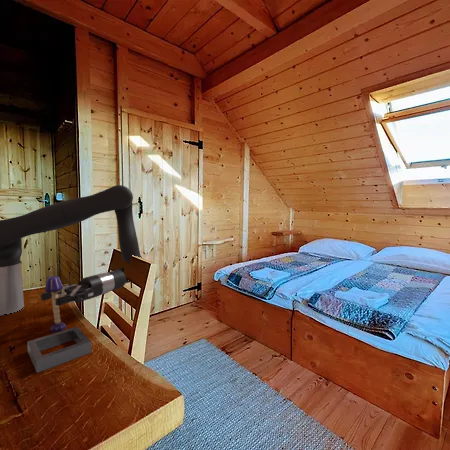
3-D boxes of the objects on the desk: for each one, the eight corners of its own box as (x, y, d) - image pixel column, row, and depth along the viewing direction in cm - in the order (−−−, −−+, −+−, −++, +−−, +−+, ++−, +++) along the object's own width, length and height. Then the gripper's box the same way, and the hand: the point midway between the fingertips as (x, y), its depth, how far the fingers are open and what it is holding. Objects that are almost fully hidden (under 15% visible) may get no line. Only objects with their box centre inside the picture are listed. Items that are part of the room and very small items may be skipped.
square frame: (36, 373, 63) (36, 360, 62) (28, 352, 71) (27, 341, 71) (91, 352, 71) (90, 341, 71) (77, 336, 80) (77, 326, 79)
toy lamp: (47, 334, 81) (43, 280, 80) (49, 327, 85) (45, 276, 84) (65, 330, 83) (62, 277, 82) (66, 324, 87) (63, 274, 86)
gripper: (85, 272, 99) (35, 284, 85) (109, 277, 92) (60, 291, 78) (86, 292, 100) (37, 307, 86) (110, 299, 92) (62, 316, 78)
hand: (48, 299), depth 82 cm, fingers open, 8 cm apart
